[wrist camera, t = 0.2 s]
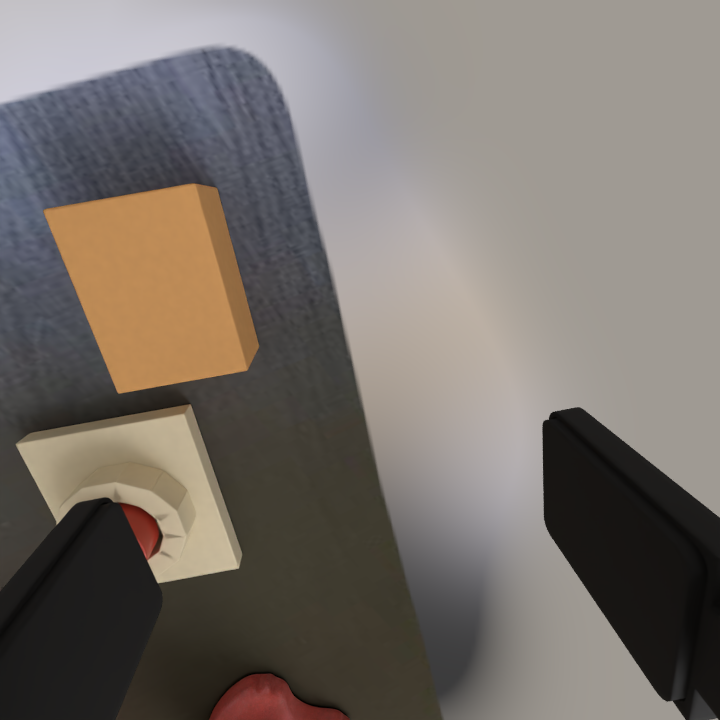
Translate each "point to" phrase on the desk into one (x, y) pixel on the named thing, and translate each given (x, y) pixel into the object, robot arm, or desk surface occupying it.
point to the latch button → (142, 527)
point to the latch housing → (142, 483)
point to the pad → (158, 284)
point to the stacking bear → (267, 702)
